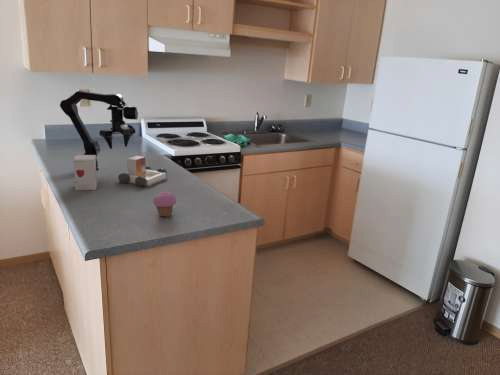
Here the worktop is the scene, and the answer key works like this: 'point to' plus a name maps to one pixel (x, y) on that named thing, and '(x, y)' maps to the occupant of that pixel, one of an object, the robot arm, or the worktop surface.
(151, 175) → the chassis
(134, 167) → the small box
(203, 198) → the worktop surface
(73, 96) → the robot arm
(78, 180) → the supplement box
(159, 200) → the cupcake
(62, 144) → the worktop surface
